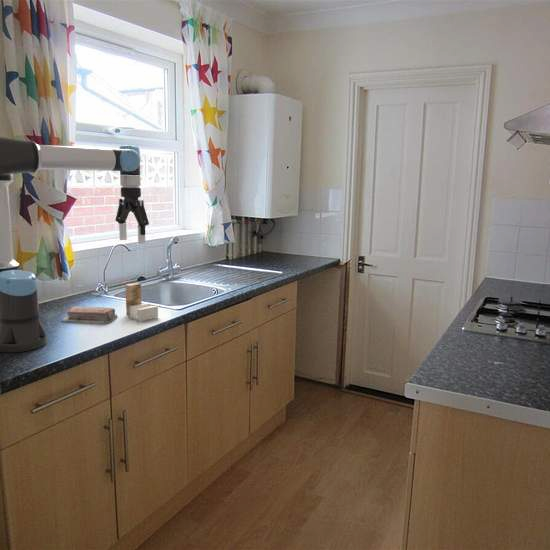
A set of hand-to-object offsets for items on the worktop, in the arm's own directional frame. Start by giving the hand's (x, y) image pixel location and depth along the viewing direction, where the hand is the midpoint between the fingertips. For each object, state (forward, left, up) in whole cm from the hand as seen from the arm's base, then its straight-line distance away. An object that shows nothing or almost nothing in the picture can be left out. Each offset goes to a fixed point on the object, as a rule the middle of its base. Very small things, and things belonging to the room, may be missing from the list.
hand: (132, 241), depth 205 cm
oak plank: (-3, -5, -28) cm, 29 cm away
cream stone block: (-3, -12, -28) cm, 30 cm away
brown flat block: (-19, 0, -29) cm, 34 cm away
